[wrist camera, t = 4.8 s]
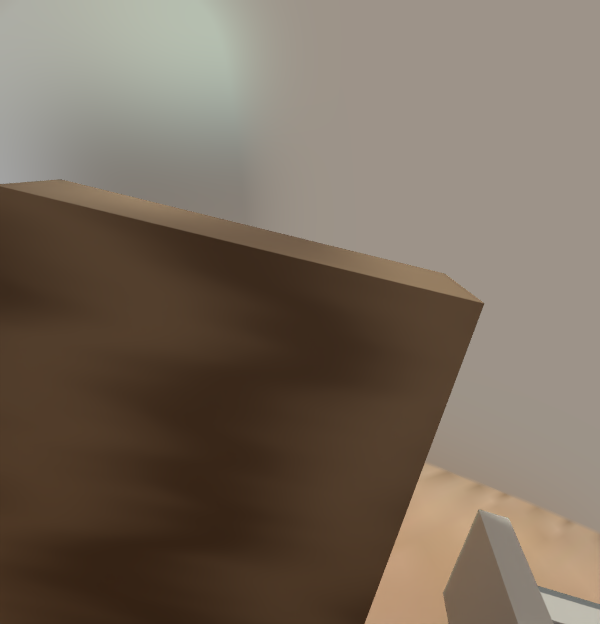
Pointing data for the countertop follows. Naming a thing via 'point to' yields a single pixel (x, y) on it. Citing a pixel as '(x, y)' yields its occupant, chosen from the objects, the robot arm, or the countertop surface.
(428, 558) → the countertop surface
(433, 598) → the countertop surface
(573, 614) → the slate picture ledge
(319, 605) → the walnut photo frame
